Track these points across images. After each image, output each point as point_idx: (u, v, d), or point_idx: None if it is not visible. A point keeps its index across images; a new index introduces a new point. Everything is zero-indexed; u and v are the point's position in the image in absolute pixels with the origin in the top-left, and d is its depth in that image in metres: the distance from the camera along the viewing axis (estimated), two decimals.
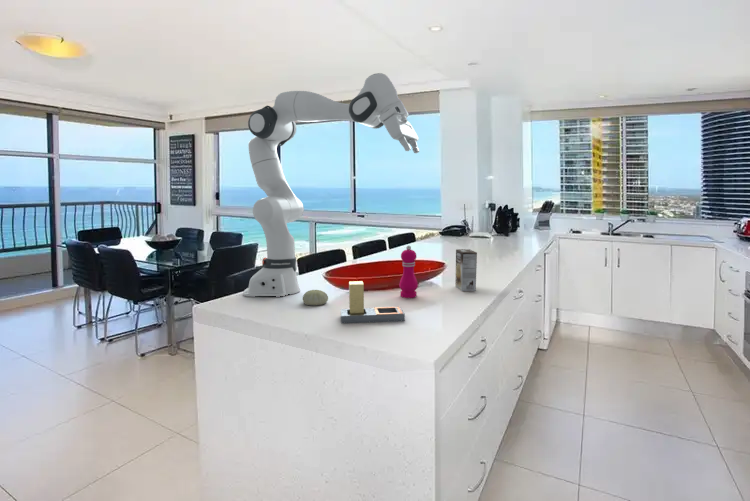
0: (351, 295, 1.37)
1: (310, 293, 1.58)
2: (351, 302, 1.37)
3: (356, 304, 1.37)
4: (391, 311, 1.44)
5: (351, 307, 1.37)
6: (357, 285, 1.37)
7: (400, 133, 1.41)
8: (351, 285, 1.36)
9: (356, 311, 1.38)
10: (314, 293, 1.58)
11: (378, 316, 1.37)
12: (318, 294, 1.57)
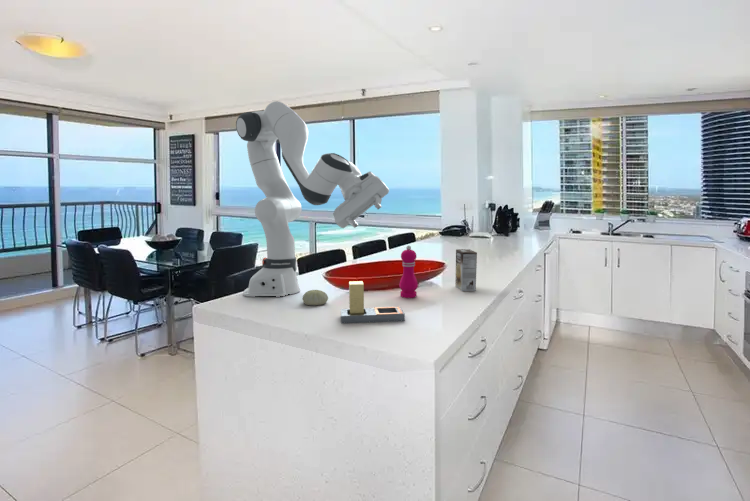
0: (351, 295, 1.37)
1: (310, 293, 1.58)
2: (351, 302, 1.37)
3: (356, 304, 1.37)
4: (391, 311, 1.44)
5: (351, 307, 1.37)
6: (357, 285, 1.37)
7: (388, 191, 1.38)
8: (351, 285, 1.36)
9: (356, 311, 1.38)
10: (314, 293, 1.58)
11: (378, 316, 1.37)
12: (318, 294, 1.57)
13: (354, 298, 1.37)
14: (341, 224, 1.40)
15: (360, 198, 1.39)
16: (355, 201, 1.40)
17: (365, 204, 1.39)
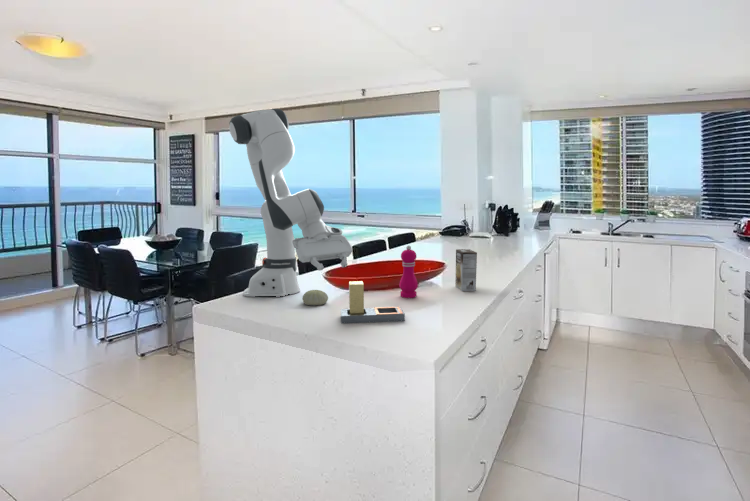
0: (351, 295, 1.37)
1: (310, 293, 1.58)
2: (351, 302, 1.37)
3: (356, 304, 1.37)
4: (391, 311, 1.44)
5: (351, 307, 1.37)
6: (357, 285, 1.37)
7: None
8: (351, 285, 1.36)
9: (356, 311, 1.38)
10: (314, 293, 1.58)
11: (378, 316, 1.37)
12: (318, 294, 1.57)
13: (354, 298, 1.37)
14: (305, 259, 1.42)
15: (330, 248, 1.49)
16: (324, 247, 1.48)
17: (330, 254, 1.49)
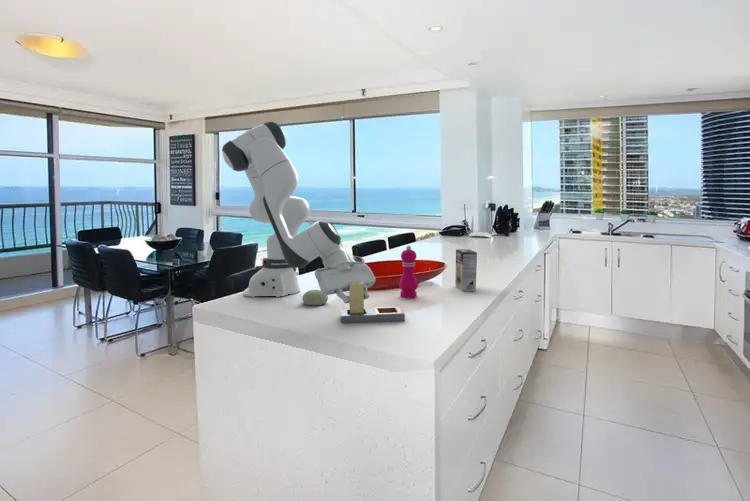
0: (351, 295, 1.37)
1: (310, 293, 1.58)
2: (351, 302, 1.37)
3: (356, 304, 1.37)
4: (391, 311, 1.44)
5: (351, 307, 1.37)
6: (357, 285, 1.37)
7: None
8: (351, 285, 1.36)
9: (356, 311, 1.38)
10: (314, 293, 1.58)
11: (378, 316, 1.37)
12: (318, 294, 1.57)
13: (354, 298, 1.37)
14: (328, 292, 1.35)
15: (353, 279, 1.42)
16: (347, 278, 1.41)
17: None
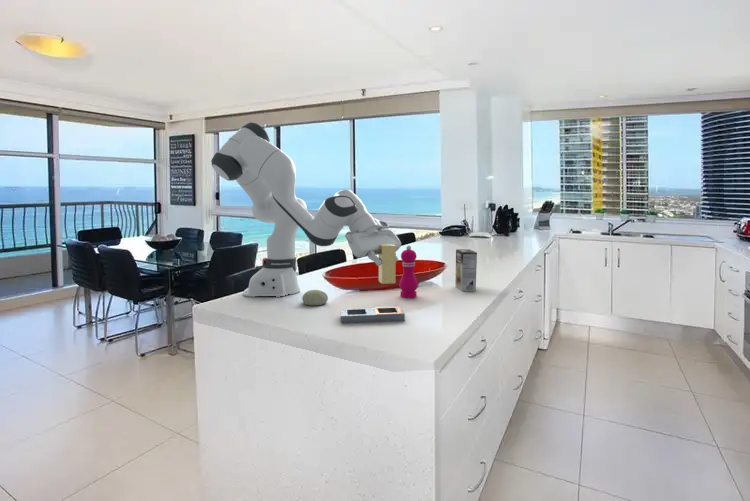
0: (383, 257, 1.36)
1: (310, 293, 1.58)
2: (383, 264, 1.36)
3: (388, 266, 1.37)
4: (391, 311, 1.44)
5: (383, 269, 1.36)
6: (389, 247, 1.36)
7: None
8: (383, 247, 1.35)
9: (388, 273, 1.37)
10: (314, 293, 1.58)
11: (378, 316, 1.37)
12: (318, 294, 1.57)
13: (386, 260, 1.36)
14: (362, 253, 1.33)
15: (382, 242, 1.41)
16: (376, 241, 1.40)
17: None
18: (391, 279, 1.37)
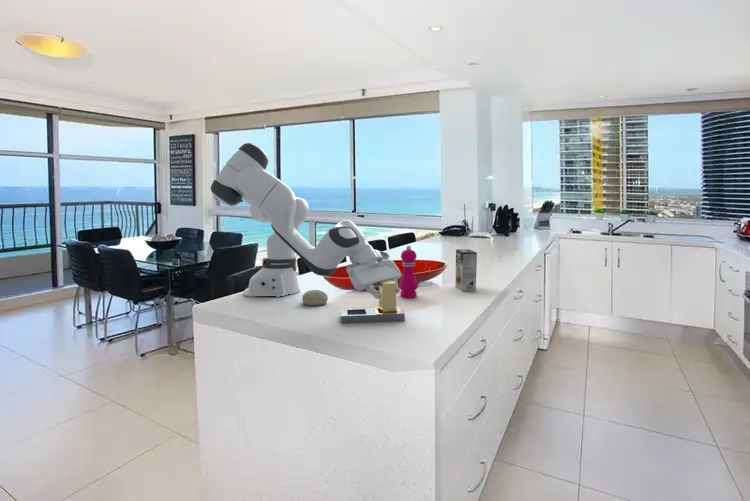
0: (384, 294, 1.38)
1: (310, 293, 1.58)
2: (384, 301, 1.38)
3: (388, 303, 1.38)
4: None
5: (384, 306, 1.38)
6: (390, 284, 1.38)
7: None
8: (384, 284, 1.37)
9: (389, 310, 1.39)
10: (314, 293, 1.58)
11: (378, 316, 1.37)
12: (318, 294, 1.57)
13: (387, 297, 1.38)
14: (362, 287, 1.35)
15: (382, 273, 1.42)
16: (377, 273, 1.41)
17: None
18: None
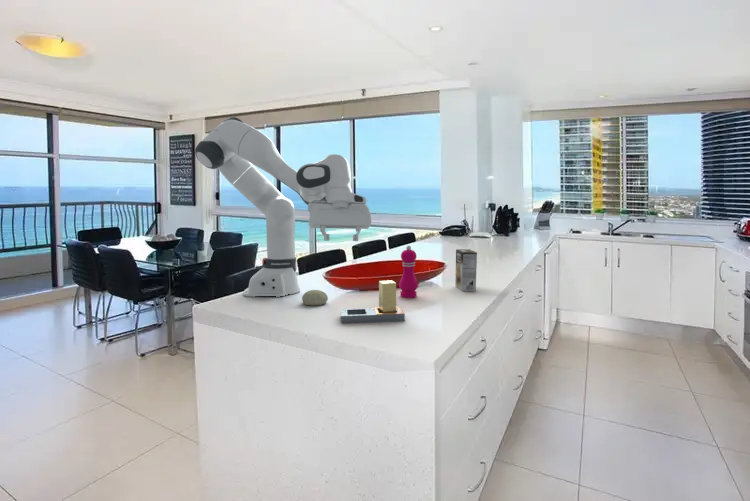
0: (384, 294, 1.38)
1: (310, 293, 1.58)
2: (384, 301, 1.38)
3: (388, 303, 1.38)
4: None
5: (384, 306, 1.38)
6: (390, 284, 1.38)
7: None
8: (384, 284, 1.37)
9: (389, 310, 1.39)
10: (314, 293, 1.57)
11: (378, 316, 1.37)
12: (318, 294, 1.57)
13: (387, 297, 1.38)
14: (313, 226, 1.39)
15: (345, 218, 1.41)
16: (338, 216, 1.40)
17: None
18: None
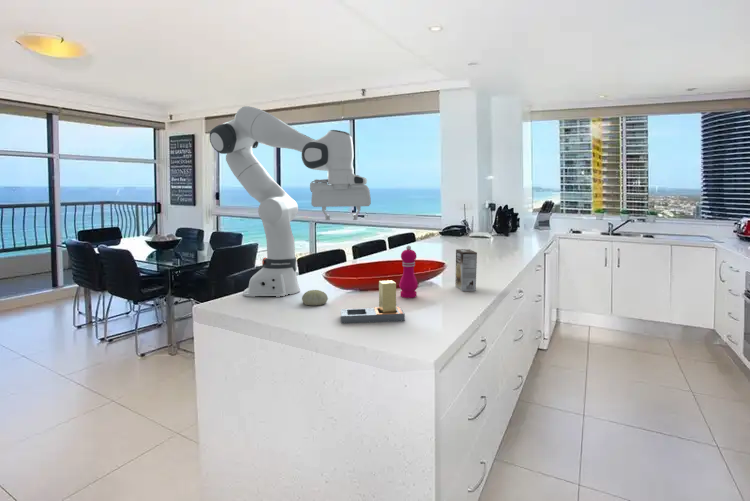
0: (384, 294, 1.38)
1: (309, 293, 1.58)
2: (384, 301, 1.38)
3: (388, 303, 1.38)
4: None
5: (384, 306, 1.38)
6: (390, 284, 1.38)
7: None
8: (384, 284, 1.37)
9: (389, 310, 1.39)
10: (313, 293, 1.57)
11: (378, 316, 1.37)
12: (317, 294, 1.57)
13: (387, 297, 1.38)
14: None
15: (345, 199, 1.47)
16: (338, 197, 1.46)
17: None
18: None
